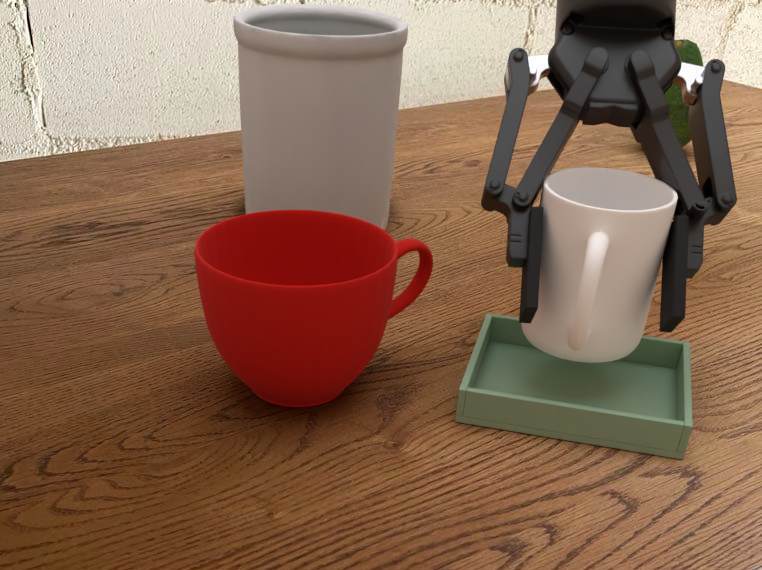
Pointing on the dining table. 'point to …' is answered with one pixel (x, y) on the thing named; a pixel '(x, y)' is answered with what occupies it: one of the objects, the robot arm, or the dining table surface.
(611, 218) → the cup
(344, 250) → the ceramic cup
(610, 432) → the sage green tray
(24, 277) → the dining table surface
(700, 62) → the avocado
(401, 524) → the dining table surface
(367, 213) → the utensil holder
